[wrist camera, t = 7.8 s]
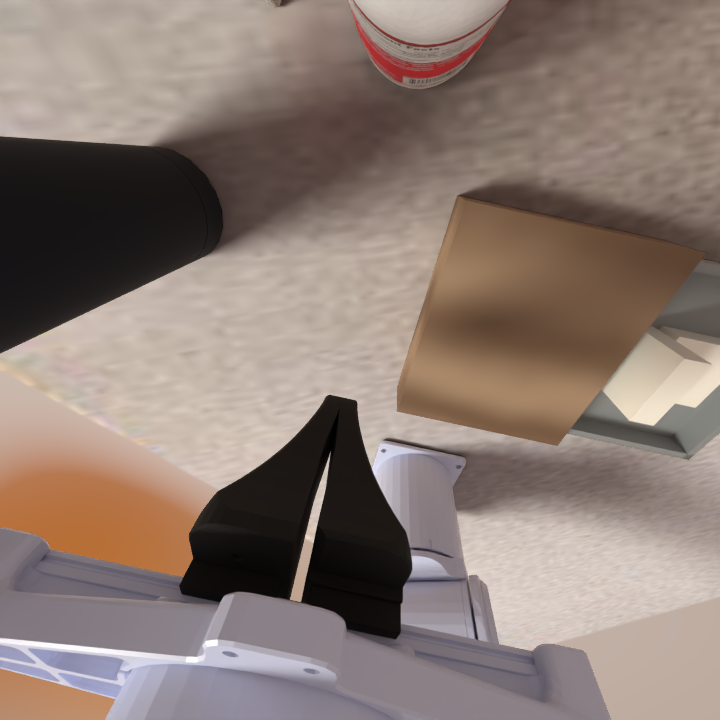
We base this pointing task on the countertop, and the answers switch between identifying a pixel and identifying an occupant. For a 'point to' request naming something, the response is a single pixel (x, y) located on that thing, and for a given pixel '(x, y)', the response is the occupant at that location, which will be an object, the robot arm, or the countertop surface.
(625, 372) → the tile
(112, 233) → the black water bottle
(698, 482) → the countertop surface
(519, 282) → the board
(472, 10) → the pill bottle
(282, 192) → the countertop surface
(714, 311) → the tray
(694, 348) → the tile
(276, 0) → the coffee box
